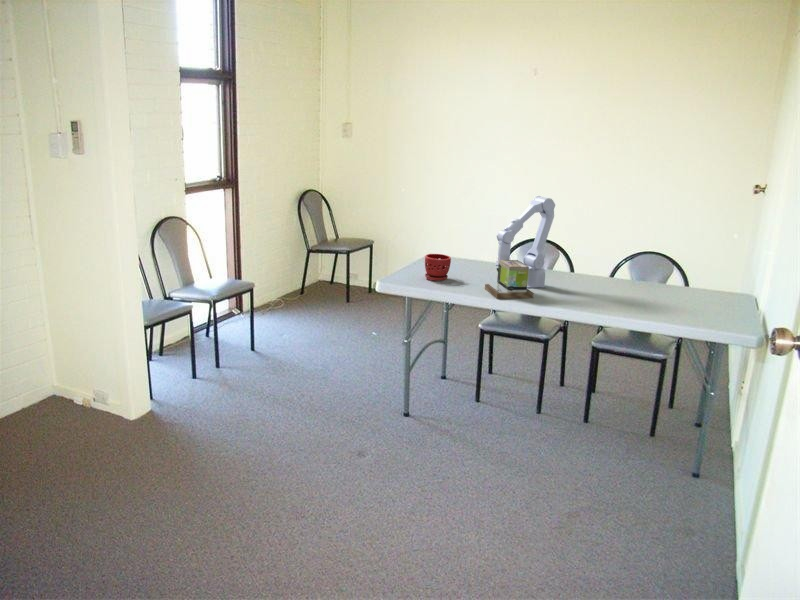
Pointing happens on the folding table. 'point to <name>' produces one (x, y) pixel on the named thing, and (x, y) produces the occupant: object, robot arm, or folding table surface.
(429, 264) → the plant pot
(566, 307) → the folding table surface
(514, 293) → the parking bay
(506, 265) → the tea box
